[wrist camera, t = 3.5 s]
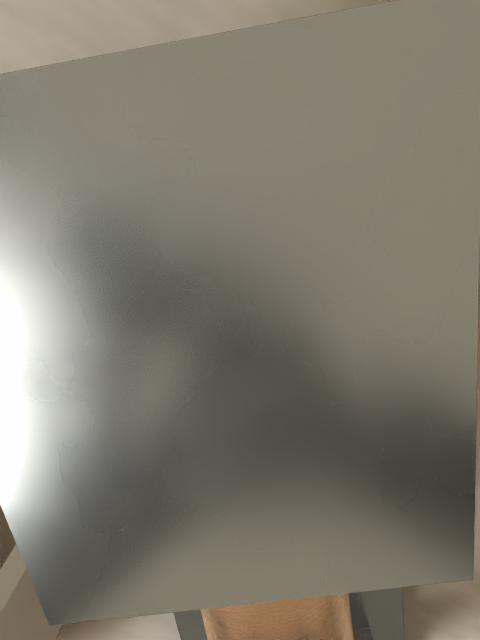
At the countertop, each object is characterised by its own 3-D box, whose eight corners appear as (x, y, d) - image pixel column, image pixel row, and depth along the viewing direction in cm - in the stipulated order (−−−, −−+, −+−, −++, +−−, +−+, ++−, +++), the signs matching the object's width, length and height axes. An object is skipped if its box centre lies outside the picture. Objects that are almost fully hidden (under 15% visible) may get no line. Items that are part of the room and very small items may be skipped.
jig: (201, 676, 21) (168, 1067, 12) (64, 165, 14) (-322, 124, 4) (397, 657, 21) (526, 1050, 11) (366, 113, 13) (667, -61, 4)
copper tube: (231, 661, 15) (226, 839, 11) (109, 138, 10) (12, 105, 6) (350, 649, 15) (391, 826, 11) (292, 106, 10) (329, 47, 6)
